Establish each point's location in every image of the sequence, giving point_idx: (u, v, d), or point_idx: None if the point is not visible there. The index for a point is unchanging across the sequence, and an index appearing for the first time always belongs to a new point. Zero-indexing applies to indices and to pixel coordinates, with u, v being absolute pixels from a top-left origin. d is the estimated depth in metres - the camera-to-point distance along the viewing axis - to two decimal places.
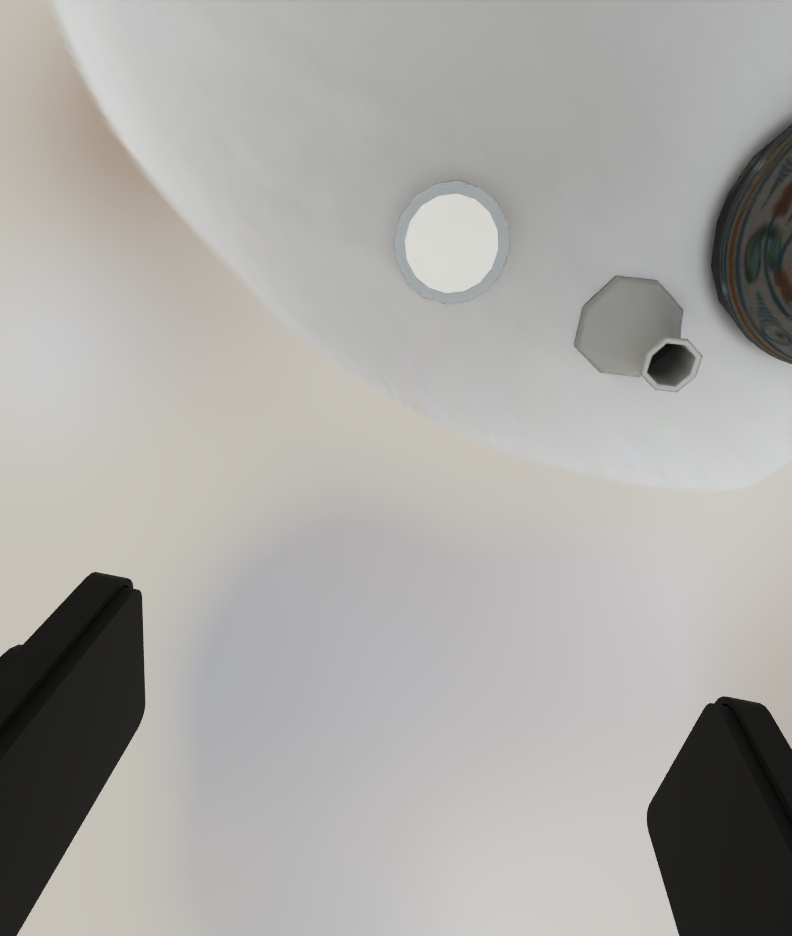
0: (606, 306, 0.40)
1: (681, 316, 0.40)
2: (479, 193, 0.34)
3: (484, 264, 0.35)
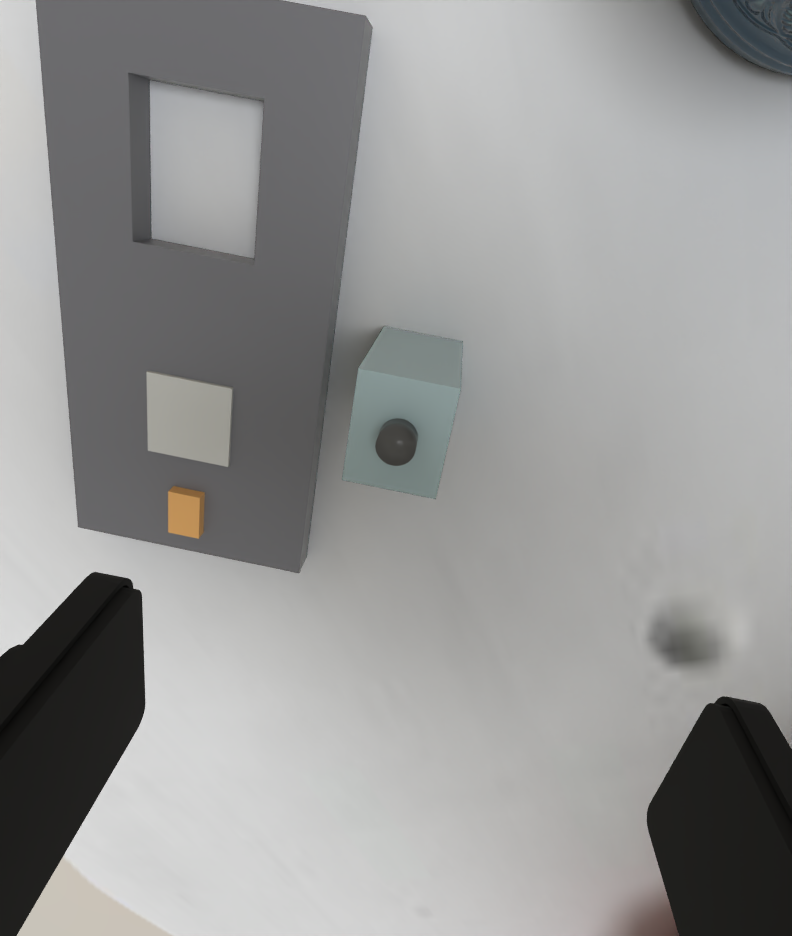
0: None
1: None
2: None
3: None
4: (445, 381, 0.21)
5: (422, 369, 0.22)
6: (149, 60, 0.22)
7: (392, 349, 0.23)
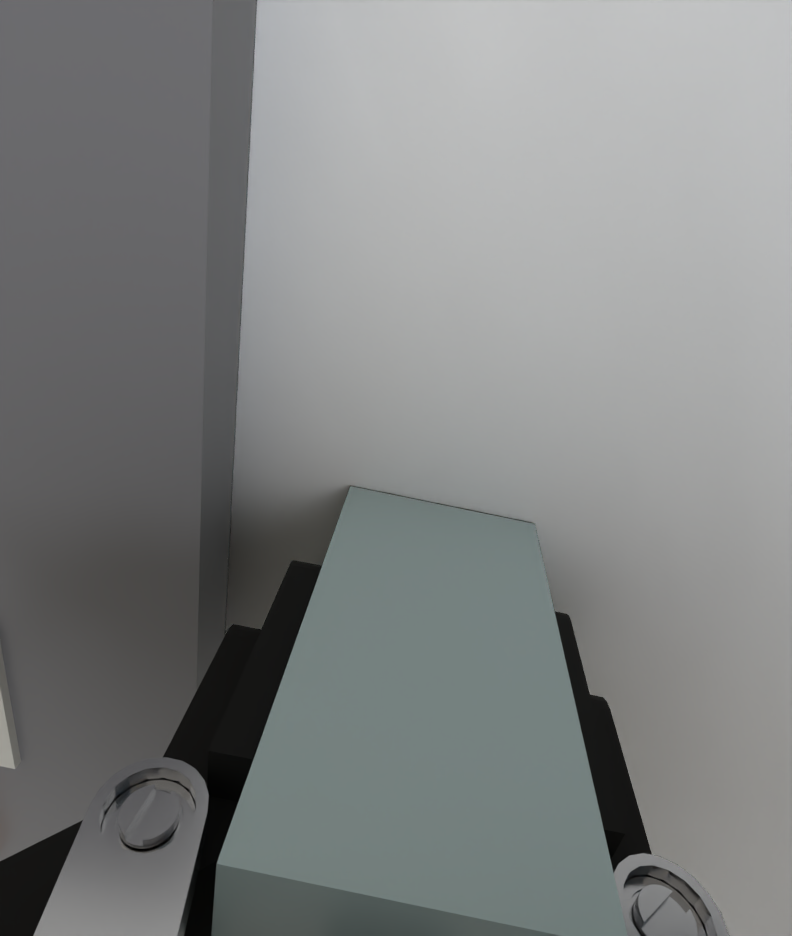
0: None
1: None
2: None
3: None
4: (558, 880, 0.05)
5: (463, 769, 0.06)
6: None
7: (364, 623, 0.08)
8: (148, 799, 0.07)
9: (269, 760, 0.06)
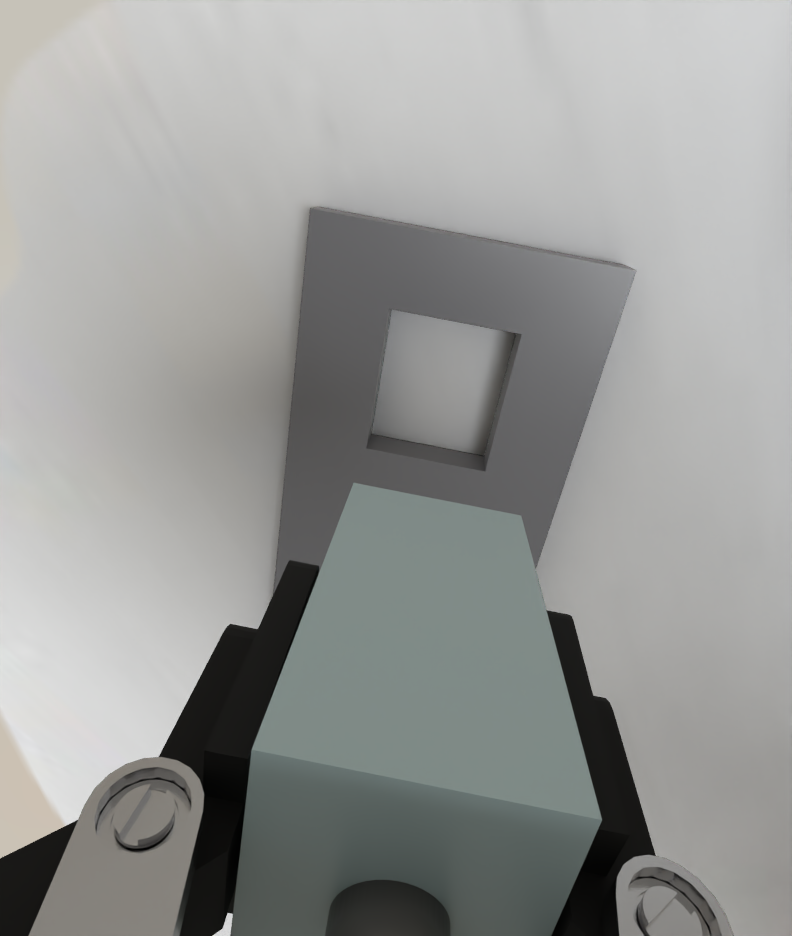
0: None
1: None
2: None
3: None
4: (540, 771, 0.06)
5: (458, 692, 0.07)
6: (412, 299, 0.22)
7: (370, 585, 0.09)
8: (143, 798, 0.07)
9: (292, 680, 0.07)
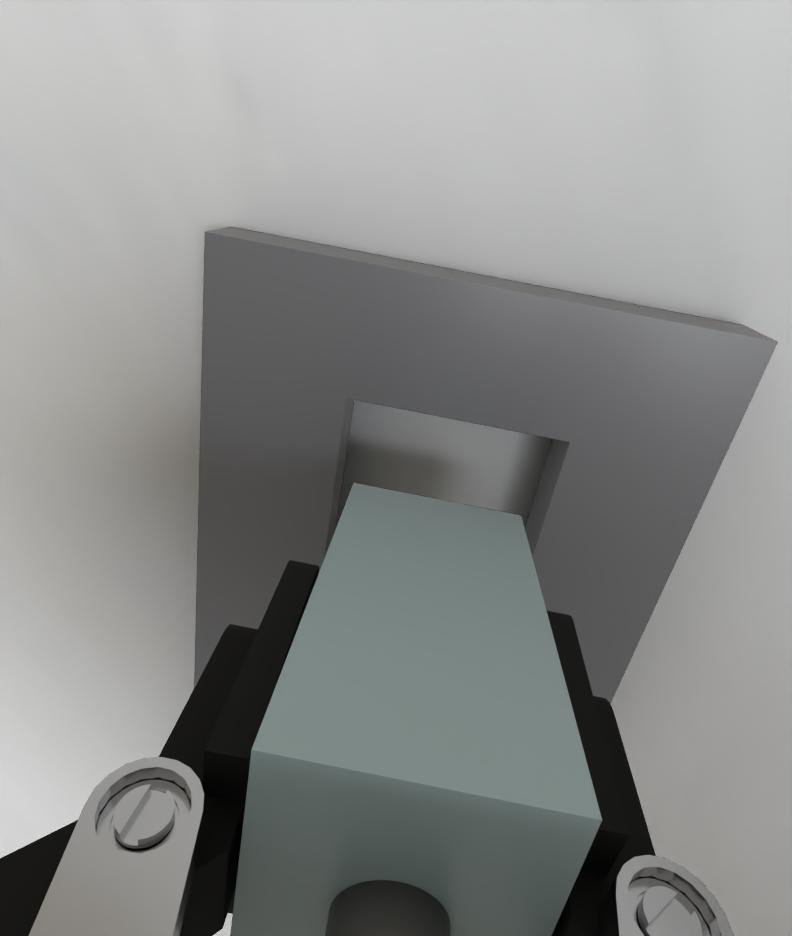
0: None
1: None
2: None
3: None
4: (540, 770, 0.06)
5: (458, 692, 0.07)
6: (385, 384, 0.13)
7: (370, 585, 0.09)
8: (144, 798, 0.07)
9: (291, 680, 0.07)
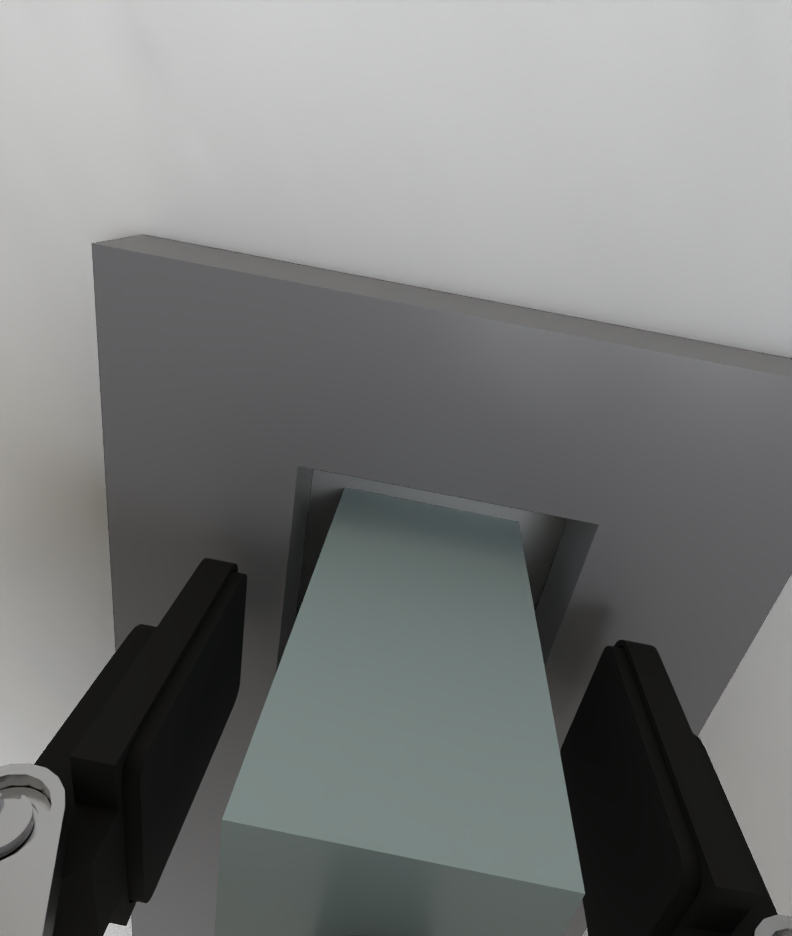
0: None
1: None
2: None
3: None
4: (522, 835, 0.06)
5: (442, 742, 0.07)
6: (349, 448, 0.10)
7: (355, 613, 0.09)
8: None
9: (268, 733, 0.07)
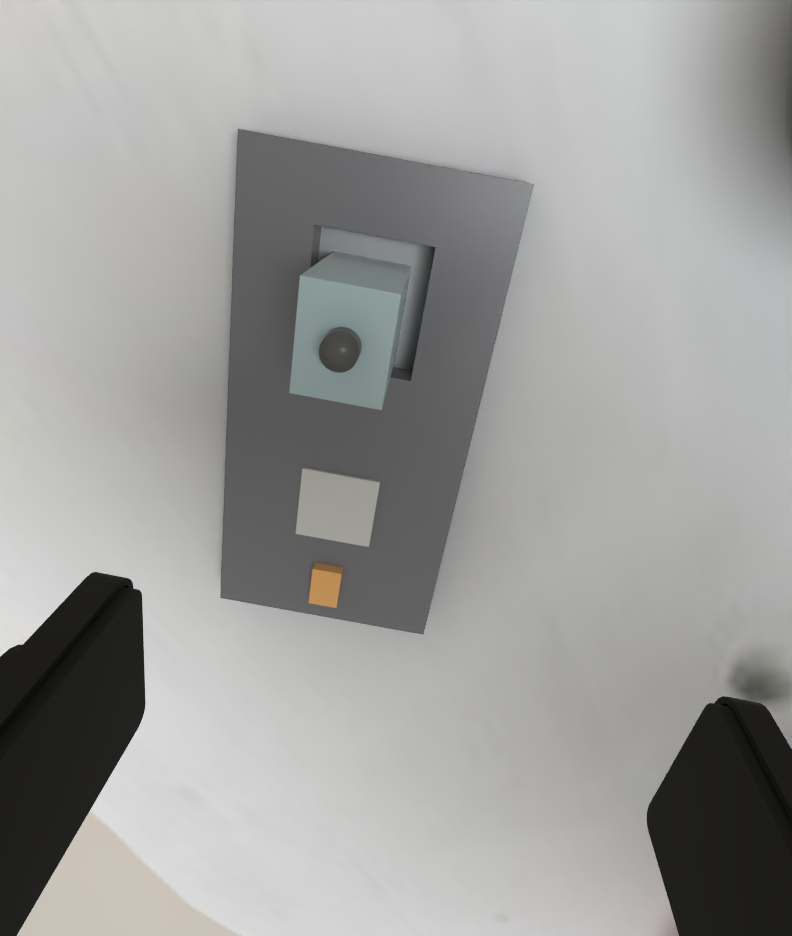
0: None
1: None
2: None
3: None
4: (386, 289, 0.21)
5: (365, 280, 0.22)
6: (334, 215, 0.25)
7: (338, 266, 0.24)
8: None
9: (310, 271, 0.22)
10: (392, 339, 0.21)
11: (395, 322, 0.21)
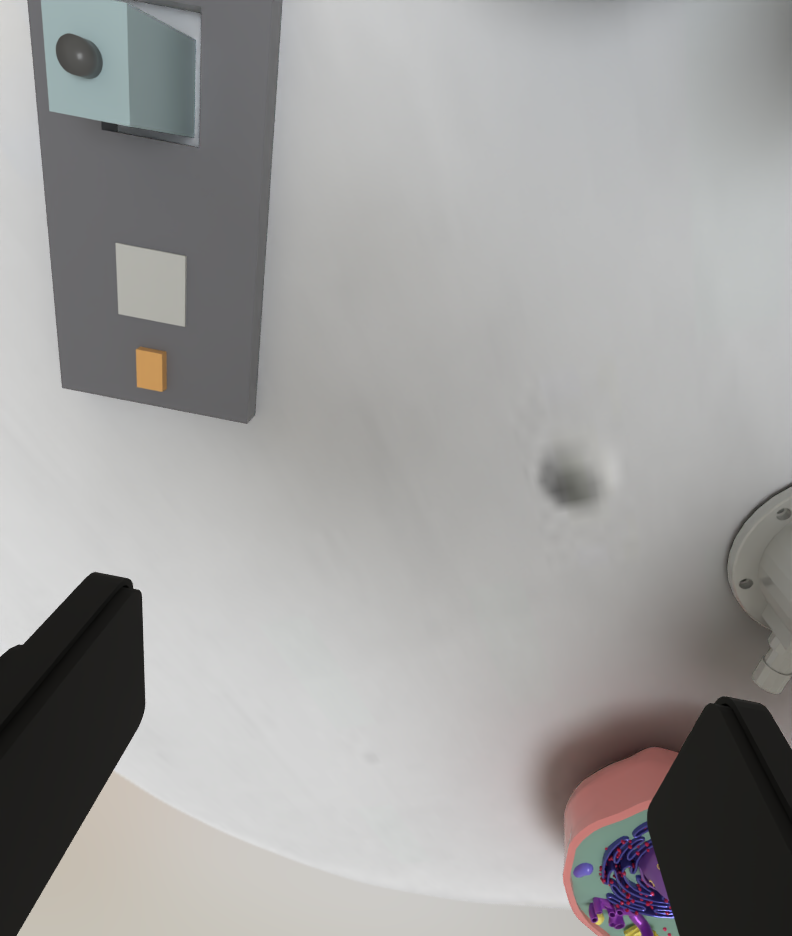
0: None
1: None
2: None
3: None
4: (118, 3, 0.24)
5: None
6: None
7: None
8: None
9: None
10: (126, 50, 0.25)
11: (126, 32, 0.24)
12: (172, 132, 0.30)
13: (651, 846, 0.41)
